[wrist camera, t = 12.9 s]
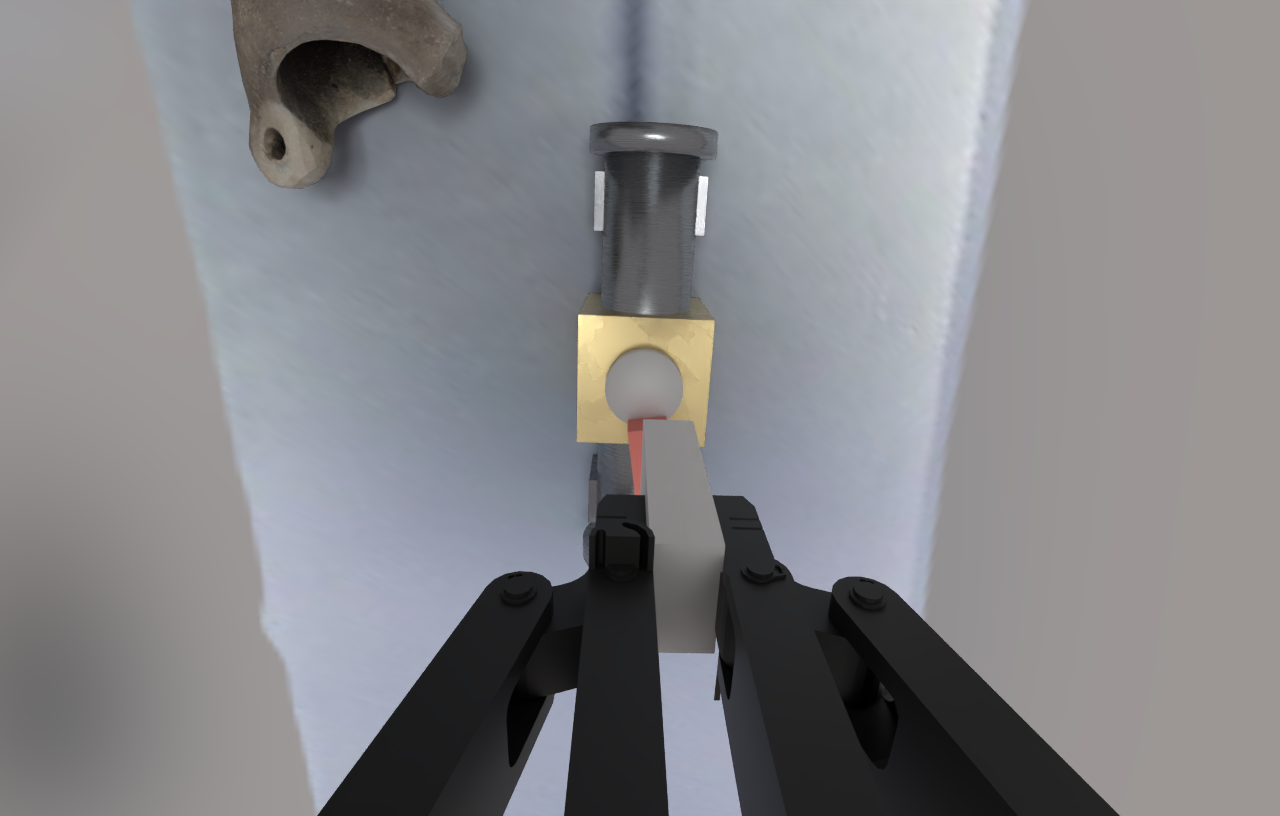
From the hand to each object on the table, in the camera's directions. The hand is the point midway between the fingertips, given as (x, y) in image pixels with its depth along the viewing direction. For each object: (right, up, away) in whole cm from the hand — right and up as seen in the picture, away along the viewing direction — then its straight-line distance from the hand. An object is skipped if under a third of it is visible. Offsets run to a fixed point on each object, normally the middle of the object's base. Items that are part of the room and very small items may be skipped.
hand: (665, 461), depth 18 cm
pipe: (-15, +23, +14) cm, 32 cm away
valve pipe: (-1, +5, +21) cm, 21 cm away
